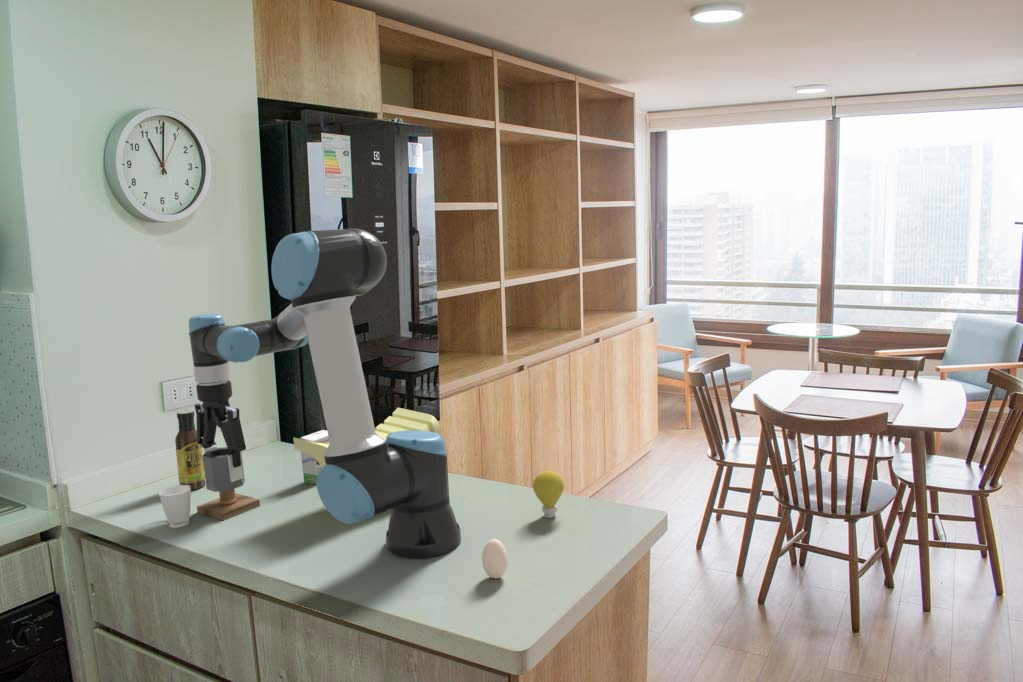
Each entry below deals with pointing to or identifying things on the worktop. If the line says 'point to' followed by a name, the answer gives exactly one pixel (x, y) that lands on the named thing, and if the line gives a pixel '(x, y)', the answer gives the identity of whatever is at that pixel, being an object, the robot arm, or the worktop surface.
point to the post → (228, 505)
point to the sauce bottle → (189, 452)
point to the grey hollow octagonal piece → (220, 470)
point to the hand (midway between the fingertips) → (224, 476)
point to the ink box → (308, 462)
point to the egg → (494, 559)
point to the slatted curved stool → (379, 431)
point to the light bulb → (548, 491)
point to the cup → (176, 504)
